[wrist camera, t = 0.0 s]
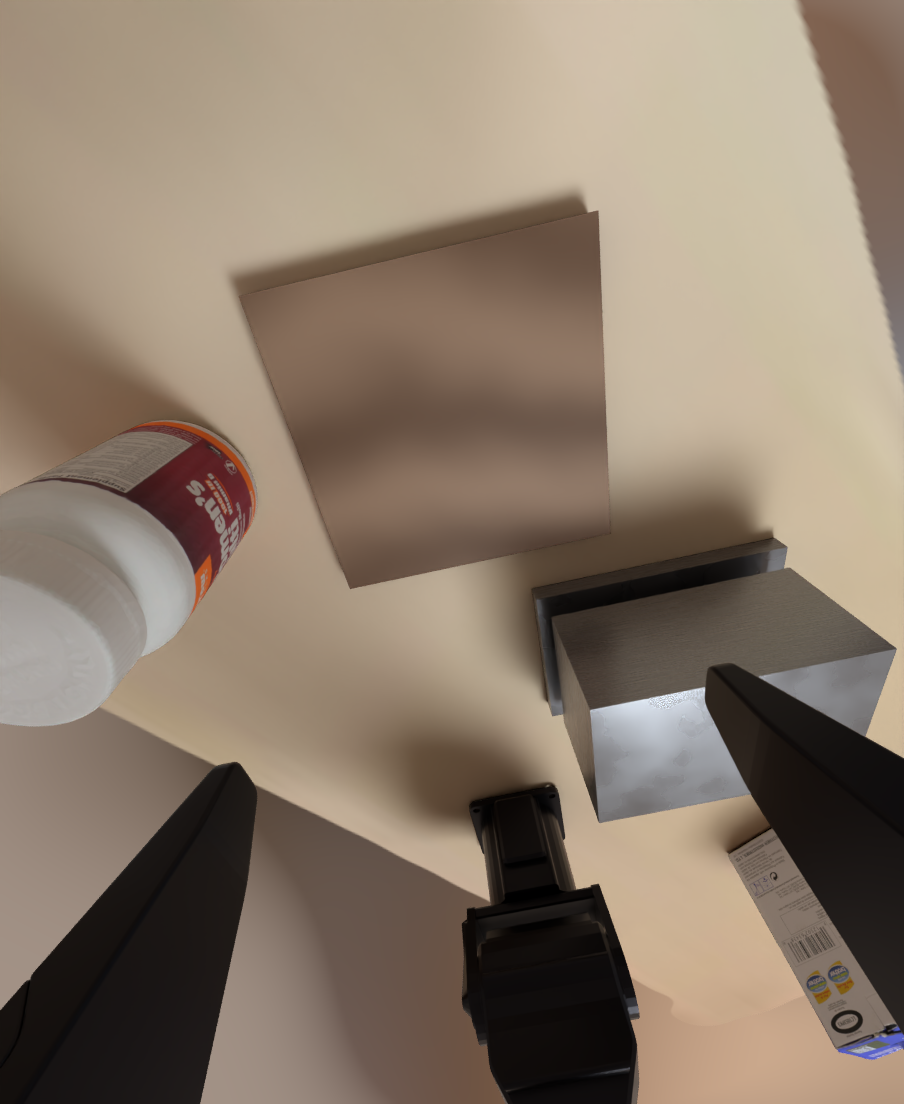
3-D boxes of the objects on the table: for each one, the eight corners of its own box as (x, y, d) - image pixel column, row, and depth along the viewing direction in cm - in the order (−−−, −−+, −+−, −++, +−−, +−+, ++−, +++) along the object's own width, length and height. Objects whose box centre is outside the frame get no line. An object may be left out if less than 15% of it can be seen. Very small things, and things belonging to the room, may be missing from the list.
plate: (603, 524, 24) (610, 533, 23) (352, 577, 24) (349, 589, 23) (589, 214, 17) (598, 210, 16) (246, 295, 18) (238, 296, 17)
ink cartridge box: (759, 870, 43) (903, 1115, 30) (722, 854, 41) (860, 1108, 28) (858, 813, 39) (1068, 1063, 27) (822, 792, 37) (1031, 1051, 25)
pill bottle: (272, 541, 23) (169, 735, 13) (141, 548, 23) (-65, 751, 13) (243, 412, 20) (81, 539, 10) (90, 417, 20) (-230, 554, 10)
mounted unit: (754, 663, 30) (859, 780, 23) (548, 704, 30) (589, 831, 23) (774, 537, 25) (913, 636, 18) (531, 588, 25) (576, 703, 19)
